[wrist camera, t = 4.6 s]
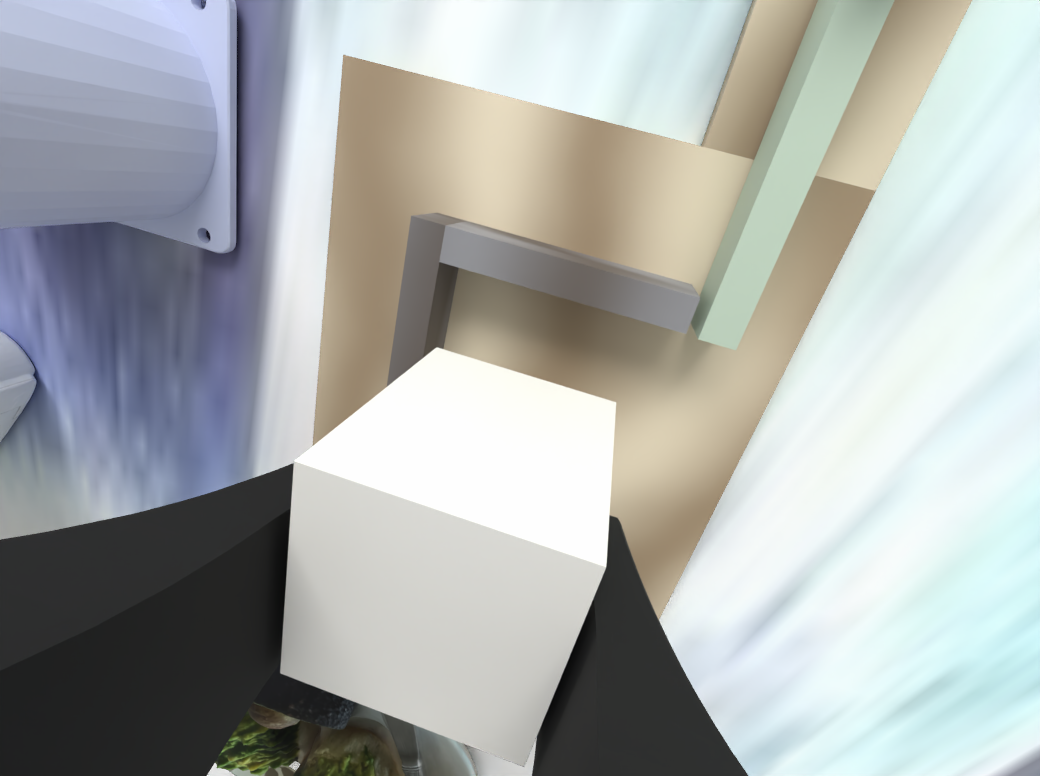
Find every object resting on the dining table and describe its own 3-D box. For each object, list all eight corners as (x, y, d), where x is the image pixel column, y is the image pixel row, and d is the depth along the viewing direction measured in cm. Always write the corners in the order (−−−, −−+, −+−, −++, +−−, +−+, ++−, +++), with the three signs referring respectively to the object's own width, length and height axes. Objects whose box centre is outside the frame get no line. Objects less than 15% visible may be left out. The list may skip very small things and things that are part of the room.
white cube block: (409, 495, 12) (280, 672, 8) (436, 347, 11) (293, 460, 6) (564, 547, 12) (524, 767, 7) (616, 402, 10) (605, 567, 6)
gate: (686, 319, 15) (704, 362, 11) (971, -400, 9) (1200, -792, 5) (726, 331, 15) (757, 378, 11) (1040, -389, 9) (1321, -784, 5)
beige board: (319, 519, 22) (275, 565, 20) (422, -606, 10) (345, -896, 7) (641, 633, 21) (643, 699, 18) (1205, -513, 9) (1462, -826, 6)
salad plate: (570, 813, 27) (559, 926, 23) (346, 849, 34) (306, 942, 30) (355, 549, 23) (294, 629, 19) (148, 648, 30) (68, 724, 25)
